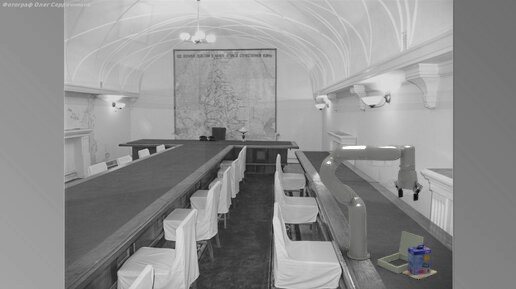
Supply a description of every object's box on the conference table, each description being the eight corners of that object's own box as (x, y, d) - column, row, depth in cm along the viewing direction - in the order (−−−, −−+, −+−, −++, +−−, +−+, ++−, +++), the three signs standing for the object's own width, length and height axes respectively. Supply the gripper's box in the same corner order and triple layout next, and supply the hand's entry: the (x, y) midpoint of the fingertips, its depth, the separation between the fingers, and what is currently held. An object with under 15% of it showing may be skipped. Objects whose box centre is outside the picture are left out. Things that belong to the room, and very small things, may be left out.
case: (377, 264, 188) (377, 238, 187) (403, 256, 198) (403, 230, 197) (397, 273, 177) (397, 245, 176) (424, 263, 187) (424, 236, 186)
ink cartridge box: (414, 275, 173) (413, 246, 172) (407, 271, 178) (406, 243, 177) (431, 272, 175) (431, 244, 174) (424, 268, 180) (423, 240, 179)
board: (402, 273, 177) (402, 272, 177) (421, 266, 184) (420, 265, 184) (418, 280, 169) (418, 278, 169) (436, 272, 176) (436, 271, 176)
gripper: (389, 167, 197) (390, 197, 198) (417, 170, 182) (417, 203, 183) (399, 165, 201) (399, 195, 202) (426, 168, 185) (426, 200, 187)
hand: (408, 198), depth 193 cm, fingers open, 9 cm apart
